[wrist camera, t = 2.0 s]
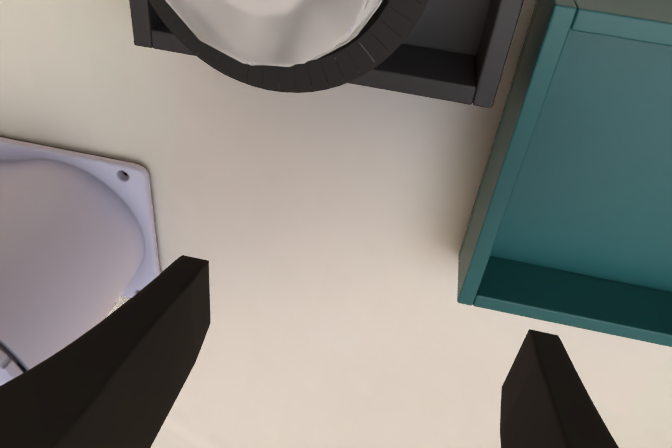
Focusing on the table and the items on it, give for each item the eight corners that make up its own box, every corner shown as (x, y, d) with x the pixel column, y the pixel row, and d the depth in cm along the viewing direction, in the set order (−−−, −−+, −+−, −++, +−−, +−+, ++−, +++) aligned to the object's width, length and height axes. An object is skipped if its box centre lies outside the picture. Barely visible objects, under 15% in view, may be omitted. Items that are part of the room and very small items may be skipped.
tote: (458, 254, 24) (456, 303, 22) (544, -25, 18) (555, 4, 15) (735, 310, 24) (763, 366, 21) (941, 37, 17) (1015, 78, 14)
